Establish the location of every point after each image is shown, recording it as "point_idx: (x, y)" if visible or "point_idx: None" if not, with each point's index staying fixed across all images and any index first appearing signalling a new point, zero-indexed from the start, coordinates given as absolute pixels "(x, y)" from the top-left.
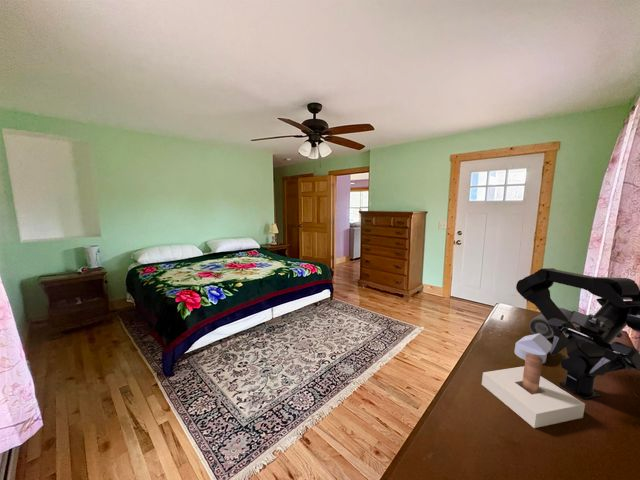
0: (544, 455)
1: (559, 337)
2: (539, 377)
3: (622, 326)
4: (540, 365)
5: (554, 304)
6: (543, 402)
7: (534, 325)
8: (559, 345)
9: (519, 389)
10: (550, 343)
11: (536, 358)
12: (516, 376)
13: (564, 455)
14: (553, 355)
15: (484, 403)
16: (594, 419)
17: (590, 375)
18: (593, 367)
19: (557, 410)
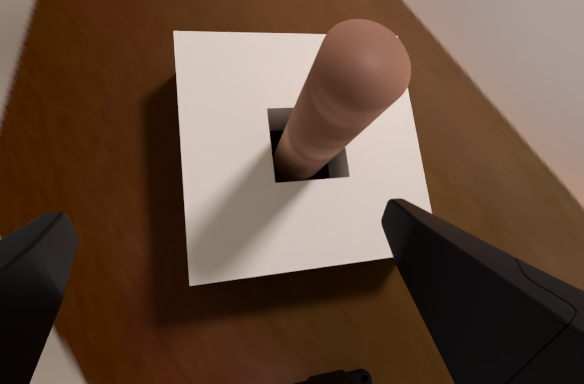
0: (95, 7)
1: (582, 330)
2: (296, 126)
3: None
4: (312, 80)
5: None
6: (221, 111)
7: None
8: (463, 305)
9: (298, 87)
10: None
11: (356, 67)
12: (371, 145)
13: (82, 61)
14: (382, 223)
15: (292, 8)
16: (184, 318)
17: (73, 234)
18: (17, 256)
19: (180, 131)
